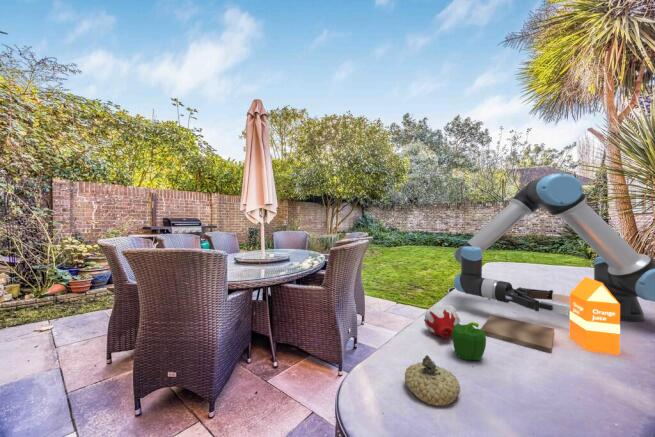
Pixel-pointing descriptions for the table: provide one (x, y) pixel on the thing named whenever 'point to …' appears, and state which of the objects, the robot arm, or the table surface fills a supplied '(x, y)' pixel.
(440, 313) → the white red rounded lump
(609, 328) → the orange juice
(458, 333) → the bell pepper
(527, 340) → the board
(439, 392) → the acorn cap
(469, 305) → the table surface
